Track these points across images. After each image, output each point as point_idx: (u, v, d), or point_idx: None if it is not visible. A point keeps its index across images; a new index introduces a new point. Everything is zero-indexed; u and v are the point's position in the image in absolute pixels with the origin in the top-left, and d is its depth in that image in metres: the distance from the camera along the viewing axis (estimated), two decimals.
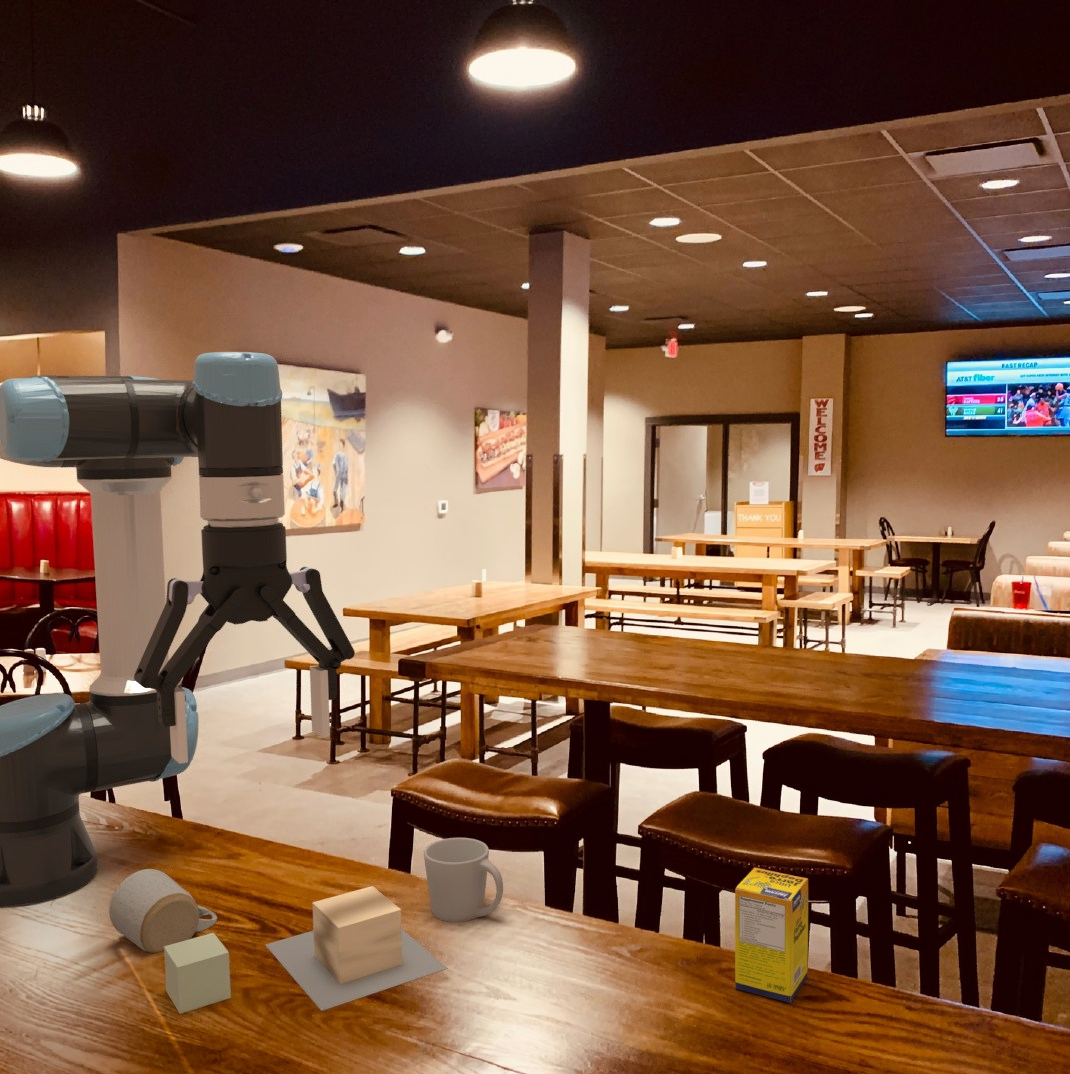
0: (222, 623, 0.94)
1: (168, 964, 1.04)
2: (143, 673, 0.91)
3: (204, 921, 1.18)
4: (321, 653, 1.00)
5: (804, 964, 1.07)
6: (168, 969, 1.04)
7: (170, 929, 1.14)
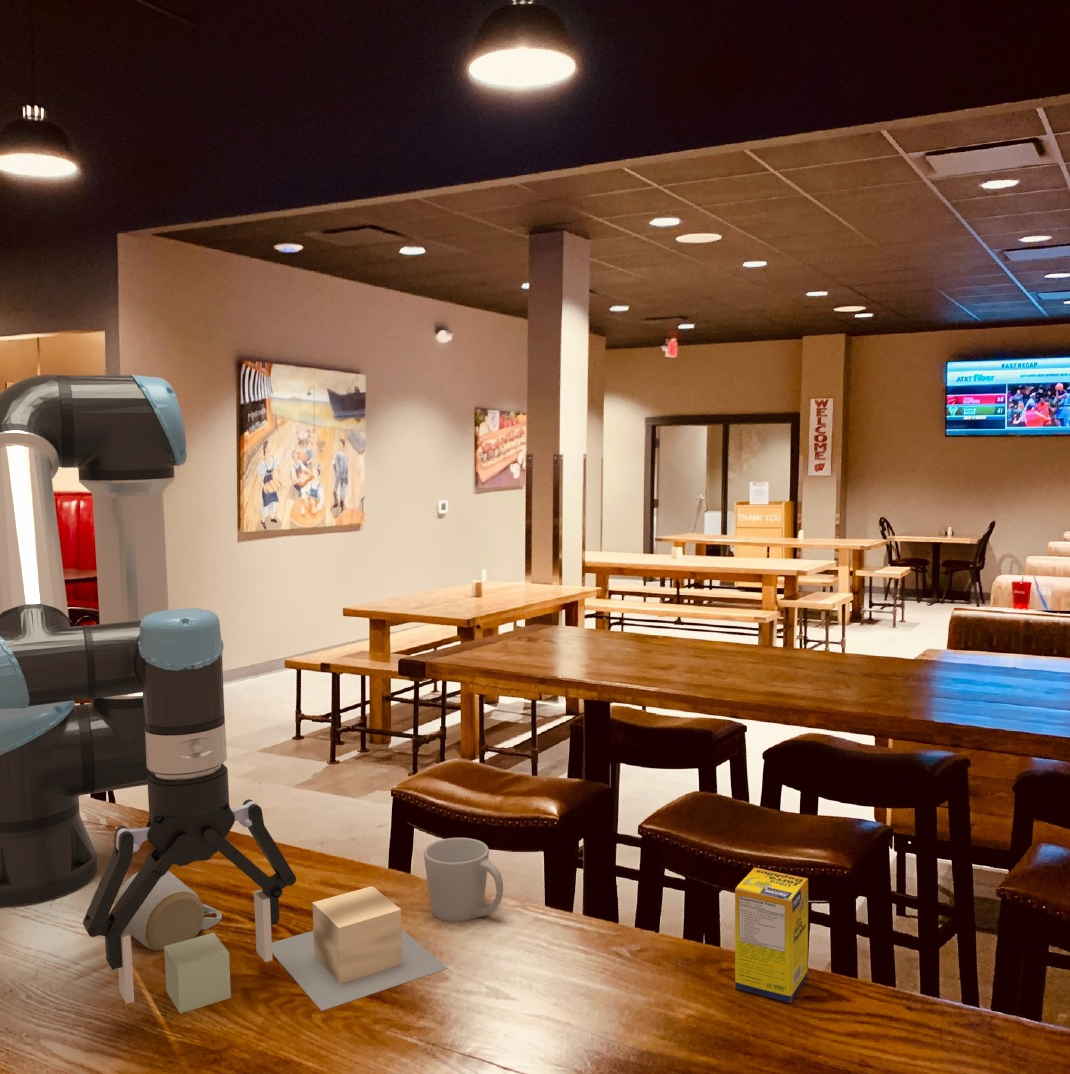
0: (167, 868, 1.00)
1: (168, 964, 1.04)
2: (90, 923, 0.97)
3: (209, 919, 1.19)
4: (263, 883, 1.06)
5: (804, 964, 1.07)
6: (168, 969, 1.04)
7: (175, 928, 1.15)
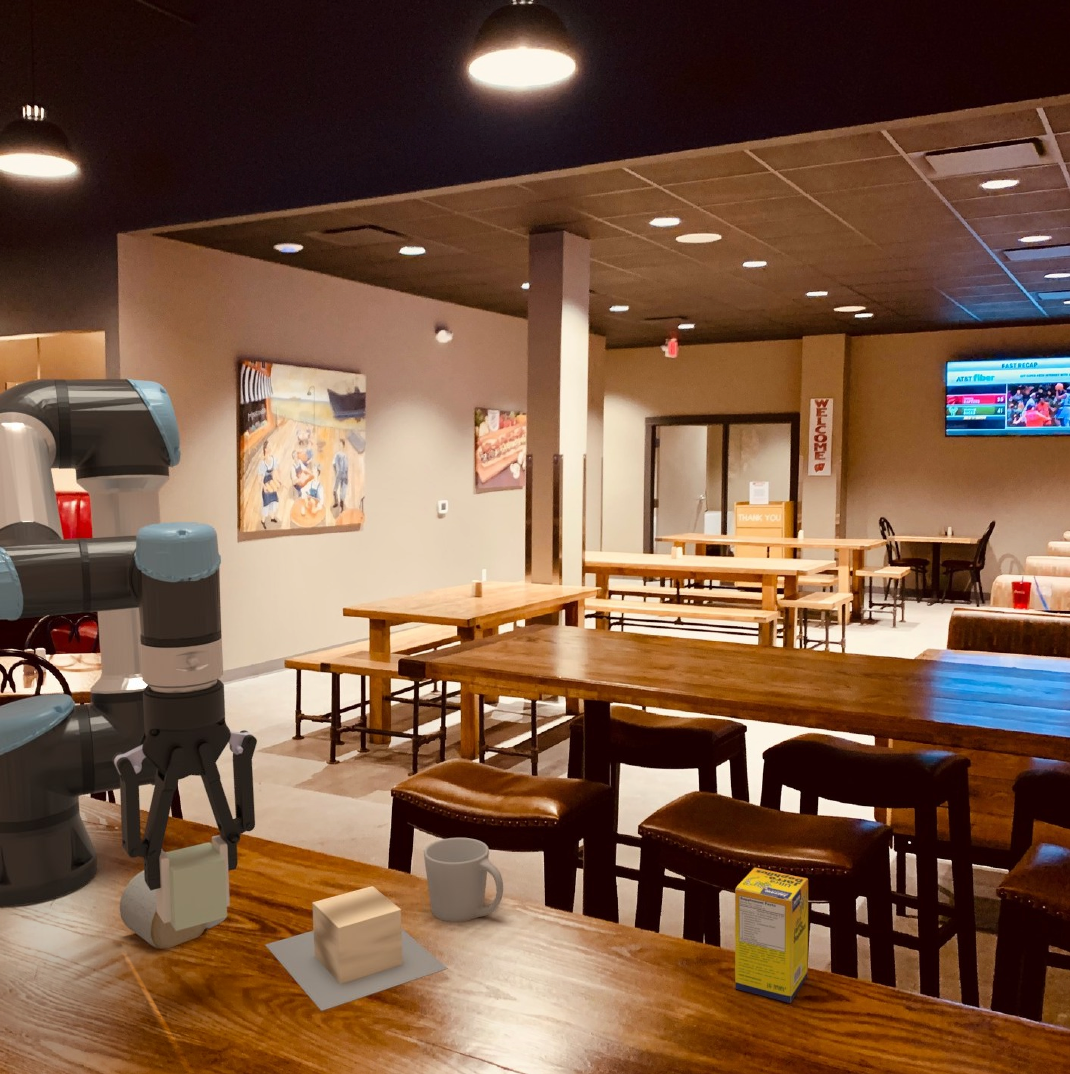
0: (175, 783, 1.00)
1: None
2: (127, 847, 0.99)
3: None
4: (226, 823, 1.04)
5: (804, 964, 1.07)
6: None
7: None
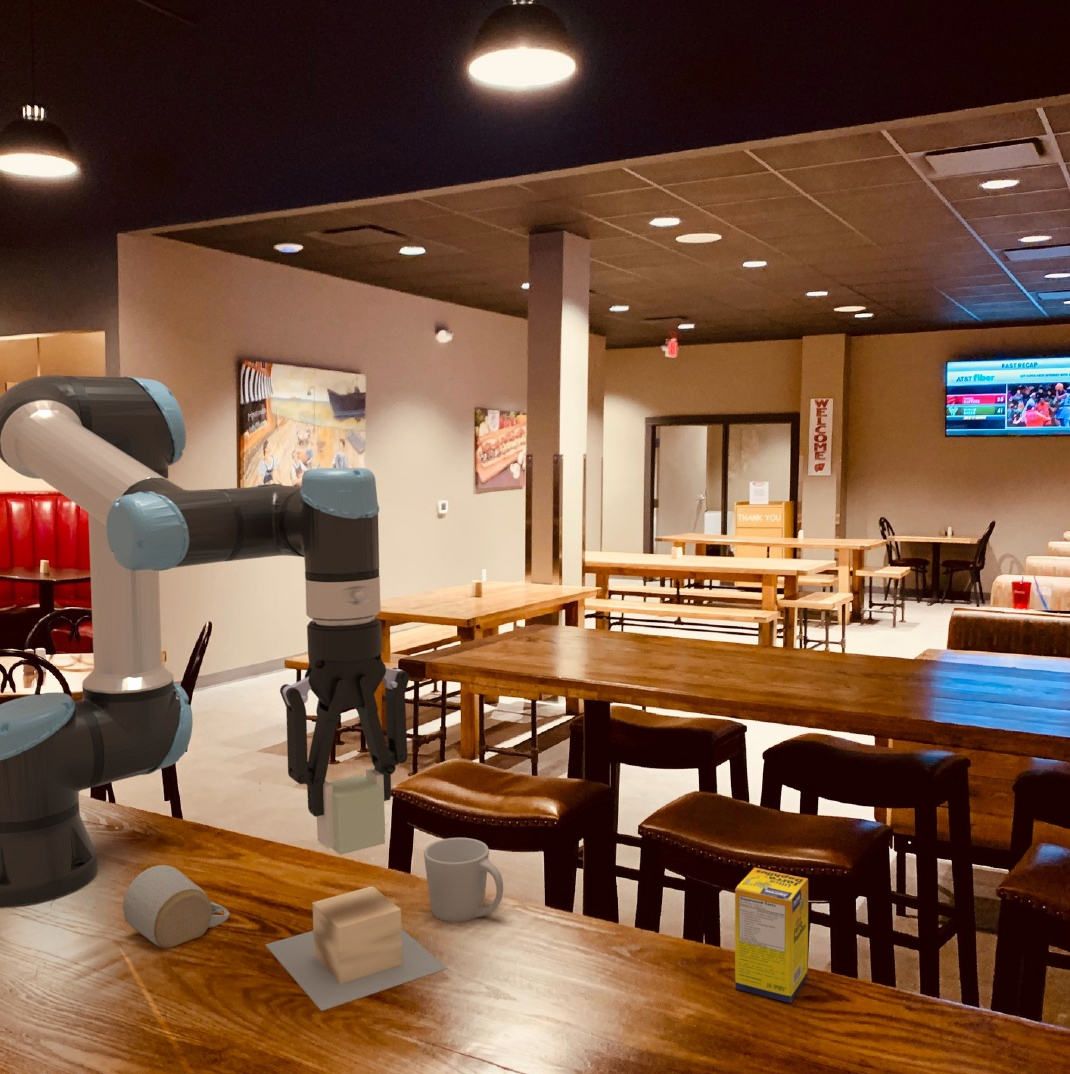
0: (339, 713, 1.06)
1: None
2: (296, 773, 1.04)
3: (217, 917, 1.19)
4: (382, 755, 1.09)
5: (804, 964, 1.07)
6: None
7: (183, 925, 1.15)
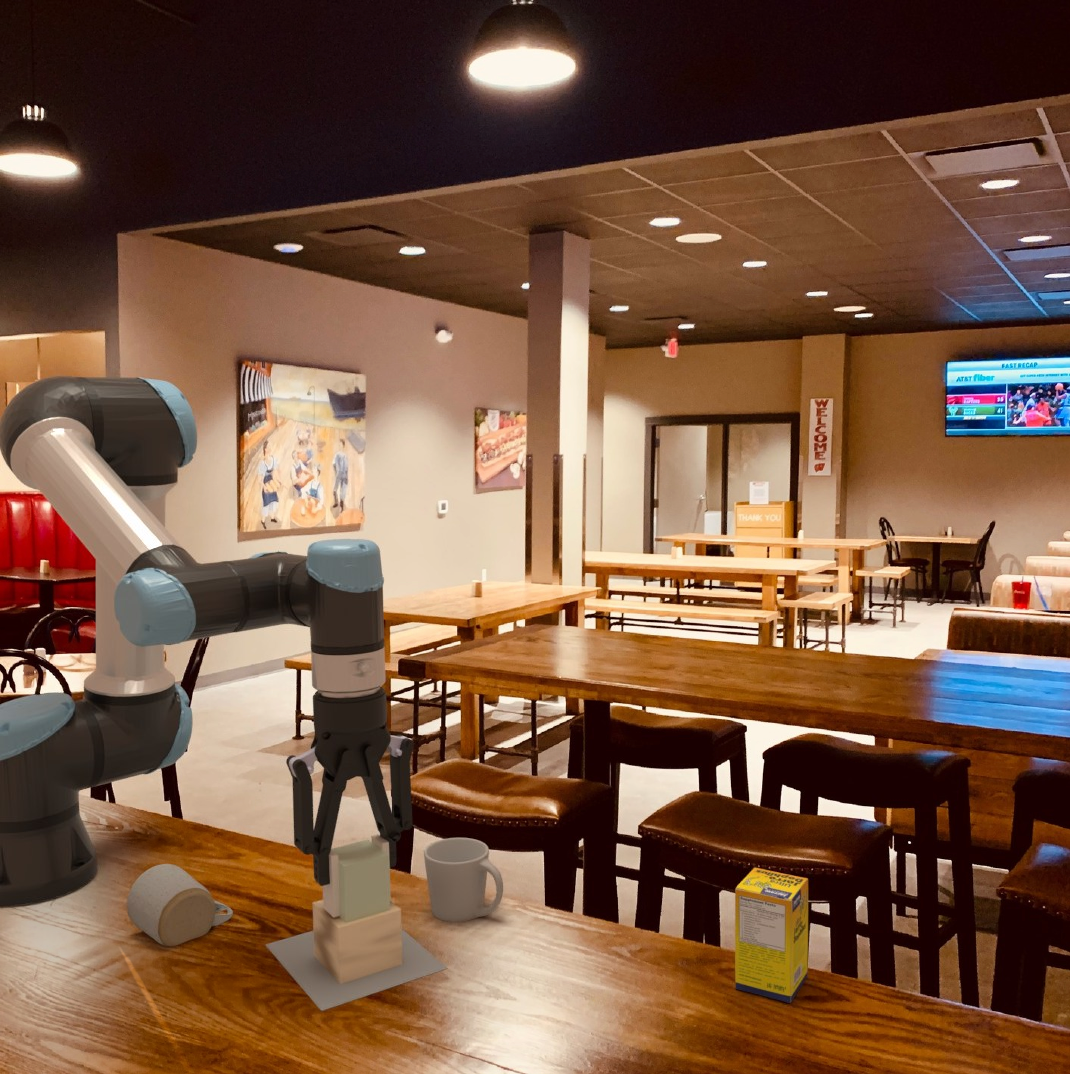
0: (345, 784, 1.07)
1: None
2: (302, 844, 1.05)
3: (220, 915, 1.20)
4: (387, 822, 1.10)
5: (804, 964, 1.07)
6: None
7: (187, 924, 1.16)
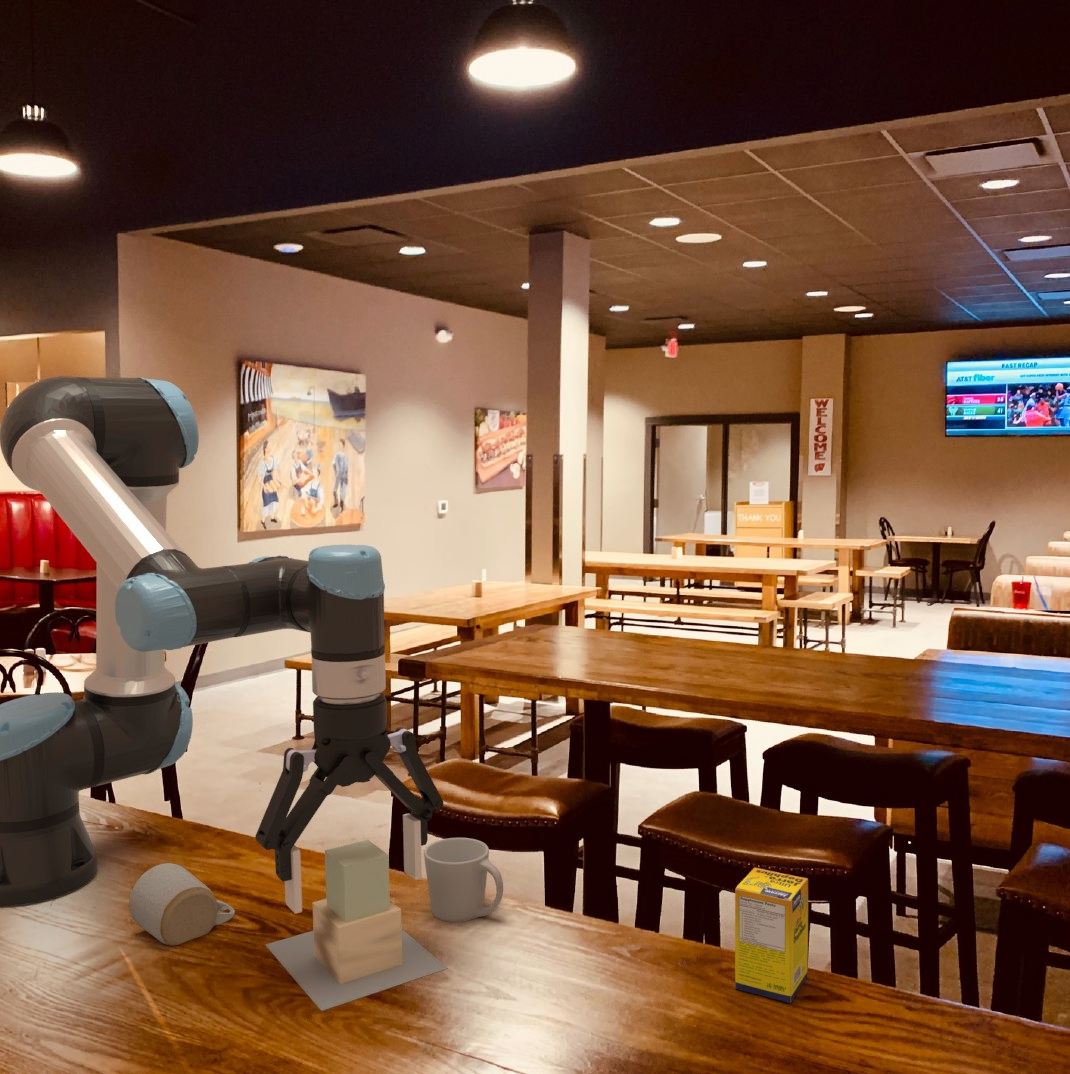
0: (333, 788, 1.06)
1: (330, 866, 1.09)
2: (265, 837, 1.03)
3: (222, 915, 1.20)
4: (415, 806, 1.12)
5: (804, 964, 1.07)
6: (330, 871, 1.09)
7: (189, 923, 1.16)
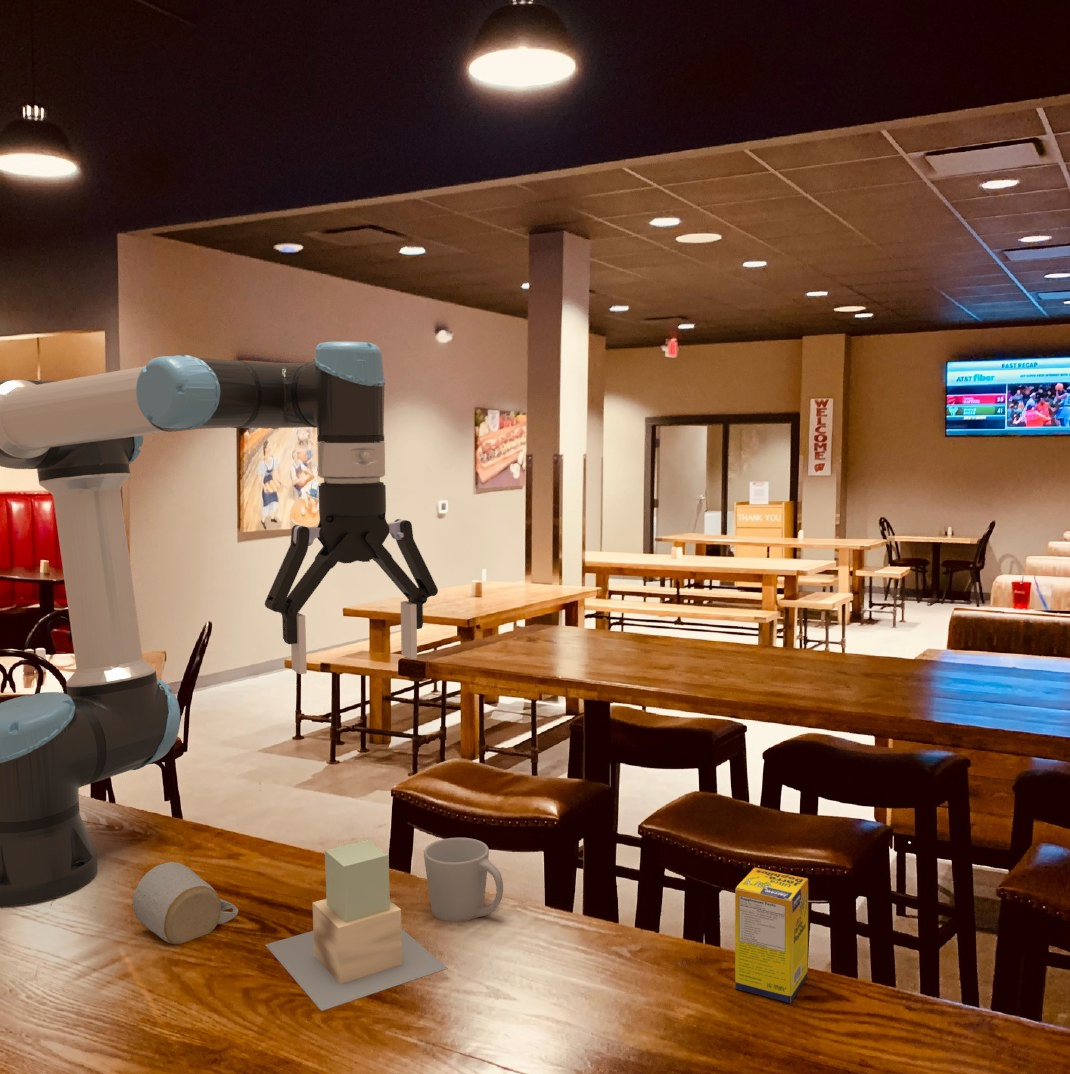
0: (335, 562, 1.16)
1: (330, 866, 1.09)
2: (274, 599, 1.14)
3: (226, 914, 1.20)
4: (411, 590, 1.22)
5: (804, 964, 1.07)
6: (330, 871, 1.09)
7: (193, 921, 1.16)
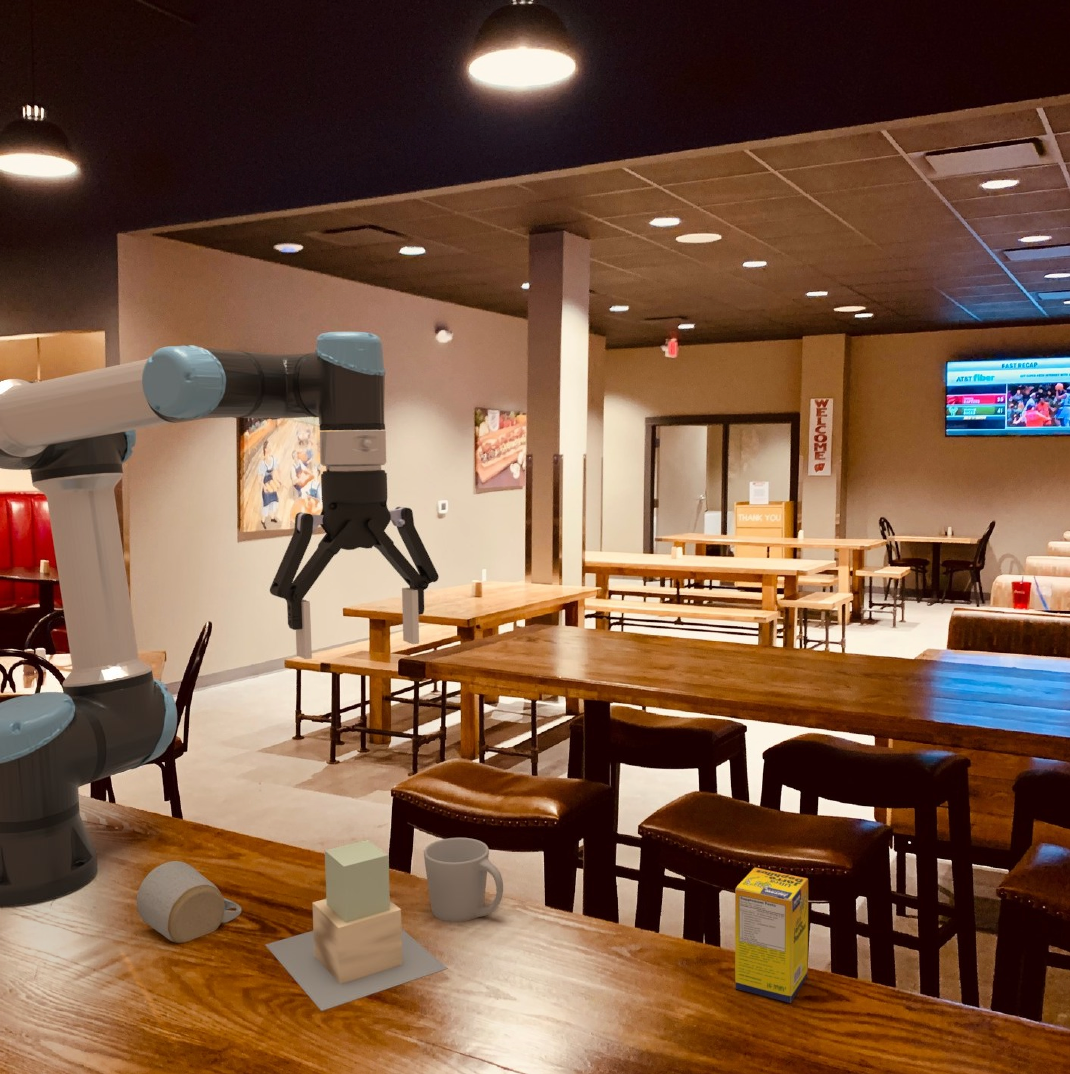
0: (339, 548, 1.18)
1: (330, 866, 1.09)
2: (279, 586, 1.15)
3: (229, 912, 1.21)
4: (413, 576, 1.25)
5: (804, 964, 1.07)
6: (330, 871, 1.09)
7: (197, 920, 1.17)
